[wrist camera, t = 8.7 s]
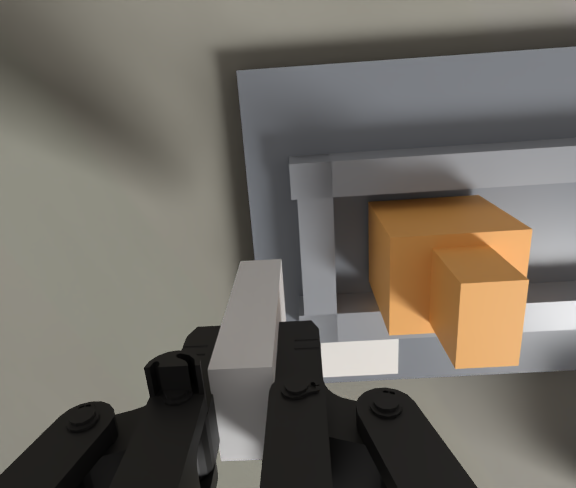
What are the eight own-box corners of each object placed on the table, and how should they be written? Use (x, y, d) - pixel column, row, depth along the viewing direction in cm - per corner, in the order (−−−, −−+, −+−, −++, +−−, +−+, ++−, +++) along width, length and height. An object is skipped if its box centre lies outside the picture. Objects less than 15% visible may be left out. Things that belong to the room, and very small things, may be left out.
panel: (268, 369, 26) (265, 410, 23) (240, 70, 21) (230, 69, 18) (772, 343, 26) (843, 382, 22) (879, 25, 20) (993, 15, 17)
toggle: (368, 281, 22) (407, 384, 15) (368, 201, 21) (410, 271, 14) (472, 275, 22) (564, 376, 15) (478, 194, 21) (583, 261, 13)
